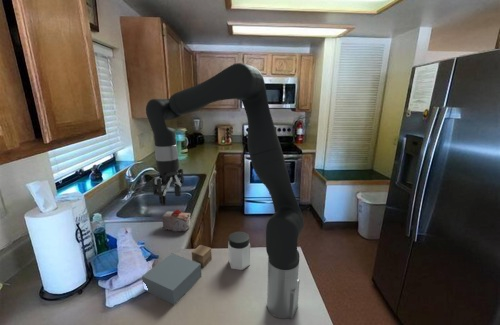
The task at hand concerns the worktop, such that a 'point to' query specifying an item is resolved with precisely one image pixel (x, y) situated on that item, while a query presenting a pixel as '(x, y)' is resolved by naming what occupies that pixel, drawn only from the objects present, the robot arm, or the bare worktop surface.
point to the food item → (176, 221)
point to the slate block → (172, 278)
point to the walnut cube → (202, 255)
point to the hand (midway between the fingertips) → (171, 200)
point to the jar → (239, 250)
